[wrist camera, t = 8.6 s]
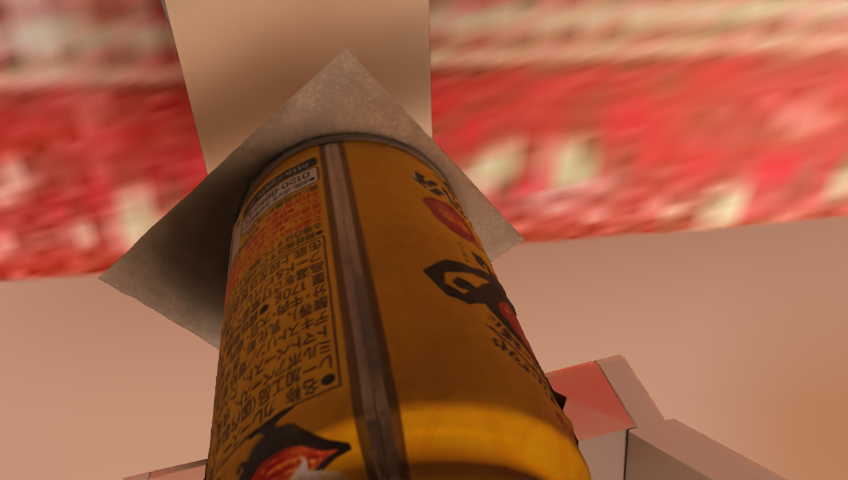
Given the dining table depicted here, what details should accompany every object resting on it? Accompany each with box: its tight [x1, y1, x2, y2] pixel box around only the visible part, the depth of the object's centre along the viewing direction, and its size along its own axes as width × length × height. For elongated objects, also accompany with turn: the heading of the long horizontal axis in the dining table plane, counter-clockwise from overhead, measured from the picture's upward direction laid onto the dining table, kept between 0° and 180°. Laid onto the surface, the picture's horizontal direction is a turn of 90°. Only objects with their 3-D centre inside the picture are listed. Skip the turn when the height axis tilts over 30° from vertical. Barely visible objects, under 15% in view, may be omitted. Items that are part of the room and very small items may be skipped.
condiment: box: [98, 47, 592, 480], centre depth 12 cm, size 7×8×12 cm
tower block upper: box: [165, 0, 432, 175], centre depth 26 cm, size 9×9×4 cm
